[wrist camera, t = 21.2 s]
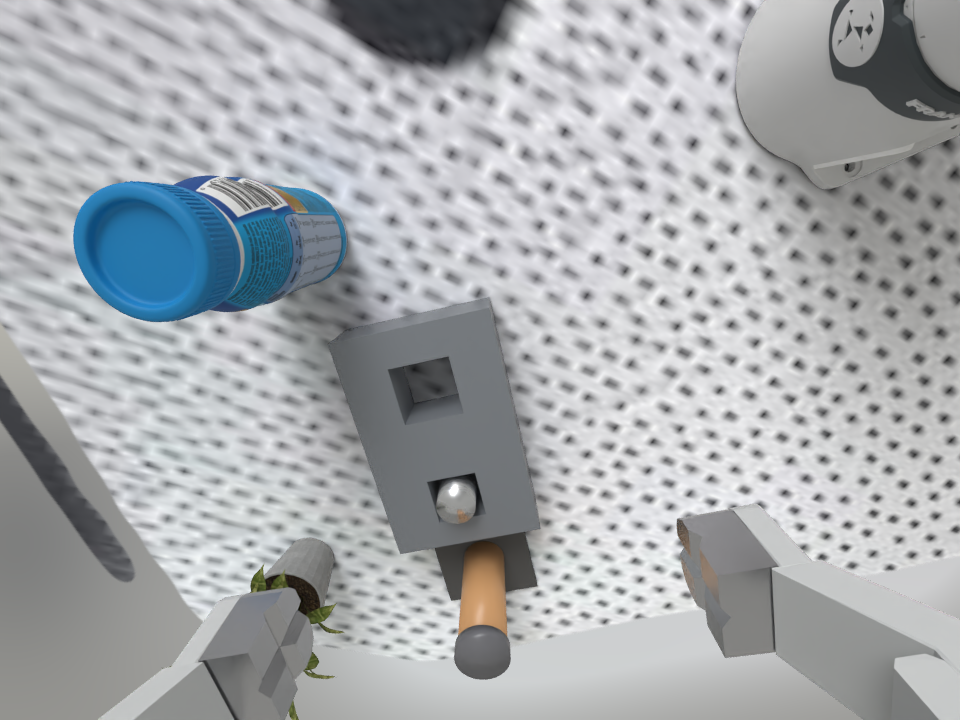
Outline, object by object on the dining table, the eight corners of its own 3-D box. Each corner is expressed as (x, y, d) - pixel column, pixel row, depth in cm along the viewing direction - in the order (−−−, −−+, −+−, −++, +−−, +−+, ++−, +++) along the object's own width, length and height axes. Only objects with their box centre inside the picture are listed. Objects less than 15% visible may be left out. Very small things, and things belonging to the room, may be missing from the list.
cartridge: (500, 536, 49) (503, 632, 38) (510, 571, 51) (516, 674, 39) (457, 544, 50) (447, 642, 38) (468, 578, 51) (462, 683, 40)
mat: (518, 509, 49) (519, 512, 48) (536, 582, 52) (537, 586, 51) (429, 525, 50) (428, 528, 49) (451, 597, 53) (451, 600, 52)
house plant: (410, 566, 51) (376, 718, 36) (329, 628, 54) (265, 794, 39) (315, 484, 48) (232, 611, 33) (235, 555, 52) (125, 702, 36)
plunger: (438, 462, 46) (431, 493, 41) (472, 455, 46) (470, 486, 41) (447, 492, 47) (441, 526, 42) (480, 486, 47) (479, 519, 42)
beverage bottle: (364, 269, 41) (257, 314, 22) (280, 295, 42) (109, 360, 23) (328, 173, 39) (174, 133, 20) (240, 204, 40) (13, 193, 21)
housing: (345, 330, 43) (327, 344, 38) (489, 297, 42) (489, 307, 37) (409, 521, 50) (400, 554, 45) (535, 498, 48) (540, 528, 44)
